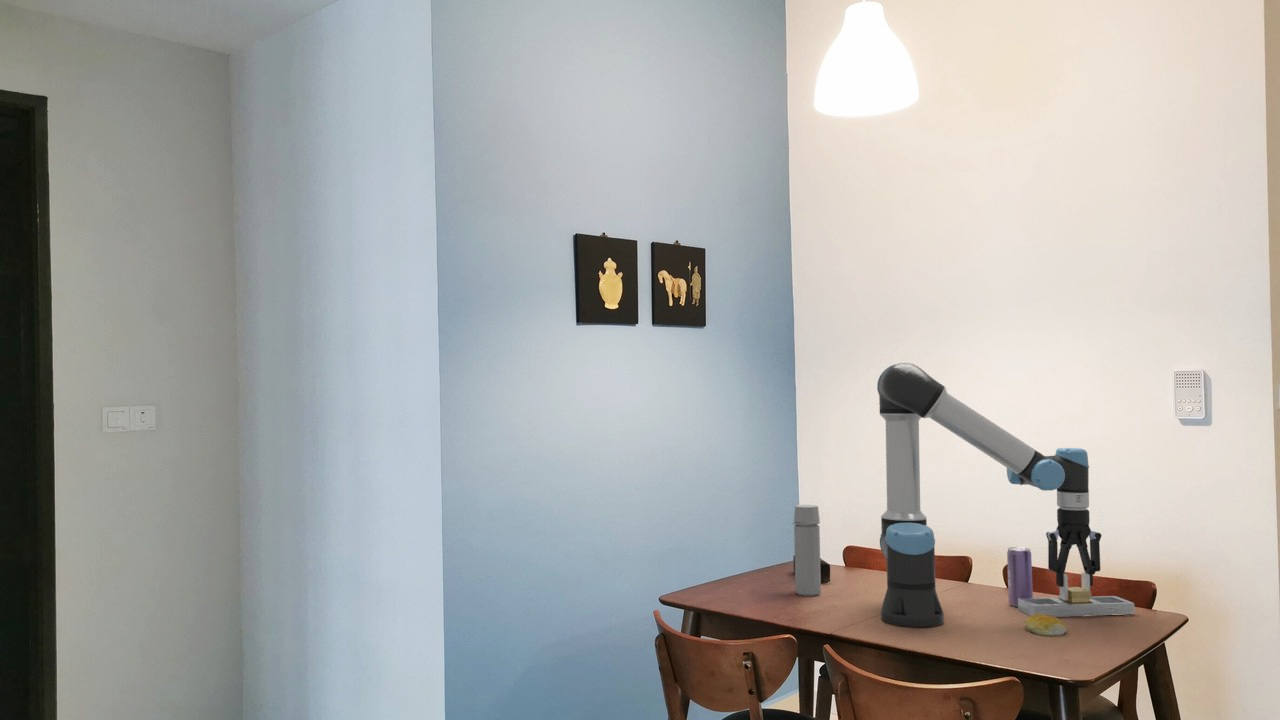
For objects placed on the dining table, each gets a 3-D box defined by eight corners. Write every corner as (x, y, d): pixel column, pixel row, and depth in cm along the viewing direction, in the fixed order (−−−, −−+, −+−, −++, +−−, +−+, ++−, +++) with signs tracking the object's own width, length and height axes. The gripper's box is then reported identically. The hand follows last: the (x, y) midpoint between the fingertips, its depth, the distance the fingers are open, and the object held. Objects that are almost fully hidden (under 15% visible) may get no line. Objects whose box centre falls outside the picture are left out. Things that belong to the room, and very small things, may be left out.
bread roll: (1047, 626, 220) (1046, 609, 221) (1072, 635, 212) (1071, 618, 212) (1017, 628, 219) (1016, 611, 219) (1041, 637, 210) (1040, 620, 210)
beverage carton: (817, 572, 292) (817, 552, 293) (831, 584, 273) (831, 562, 273) (793, 573, 292) (792, 552, 292) (805, 585, 273) (804, 563, 273)
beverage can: (1035, 608, 238) (1033, 550, 239) (1011, 607, 239) (1009, 550, 240) (1030, 603, 244) (1028, 547, 245) (1006, 602, 245) (1005, 546, 246)
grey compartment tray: (1034, 617, 228) (1033, 605, 228) (1018, 609, 237) (1018, 598, 237) (1134, 615, 229) (1134, 603, 229) (1115, 607, 238) (1115, 596, 238)
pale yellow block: (1072, 615, 230) (1072, 591, 230) (1061, 610, 236) (1060, 587, 236) (1092, 615, 230) (1091, 591, 230) (1080, 610, 236) (1079, 586, 236)
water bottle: (827, 595, 257) (825, 506, 258) (803, 597, 254) (801, 508, 255) (809, 589, 266) (807, 503, 267) (786, 591, 263) (784, 504, 264)
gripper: (1045, 510, 230) (1047, 602, 229) (1115, 509, 231) (1117, 602, 230) (1031, 506, 237) (1033, 596, 237) (1099, 506, 238) (1101, 595, 237)
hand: (1074, 598), depth 233 cm, fingers open, 5 cm apart
